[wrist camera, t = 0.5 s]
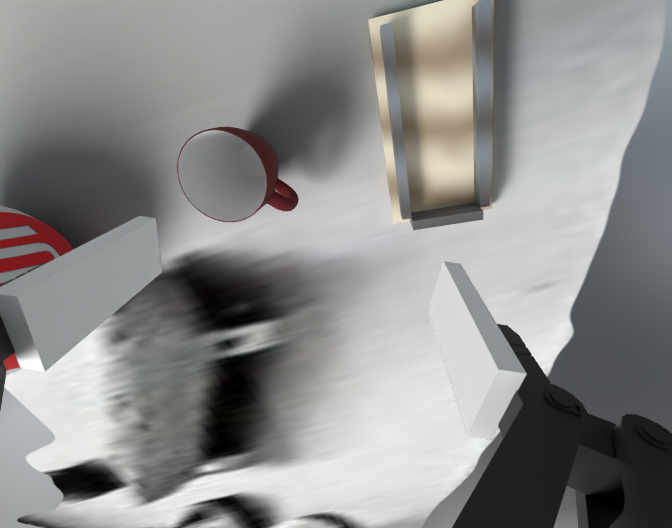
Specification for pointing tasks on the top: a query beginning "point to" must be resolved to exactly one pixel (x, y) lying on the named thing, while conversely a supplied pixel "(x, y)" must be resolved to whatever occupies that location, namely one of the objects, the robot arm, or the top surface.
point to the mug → (232, 174)
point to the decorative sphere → (25, 251)
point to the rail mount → (436, 109)
